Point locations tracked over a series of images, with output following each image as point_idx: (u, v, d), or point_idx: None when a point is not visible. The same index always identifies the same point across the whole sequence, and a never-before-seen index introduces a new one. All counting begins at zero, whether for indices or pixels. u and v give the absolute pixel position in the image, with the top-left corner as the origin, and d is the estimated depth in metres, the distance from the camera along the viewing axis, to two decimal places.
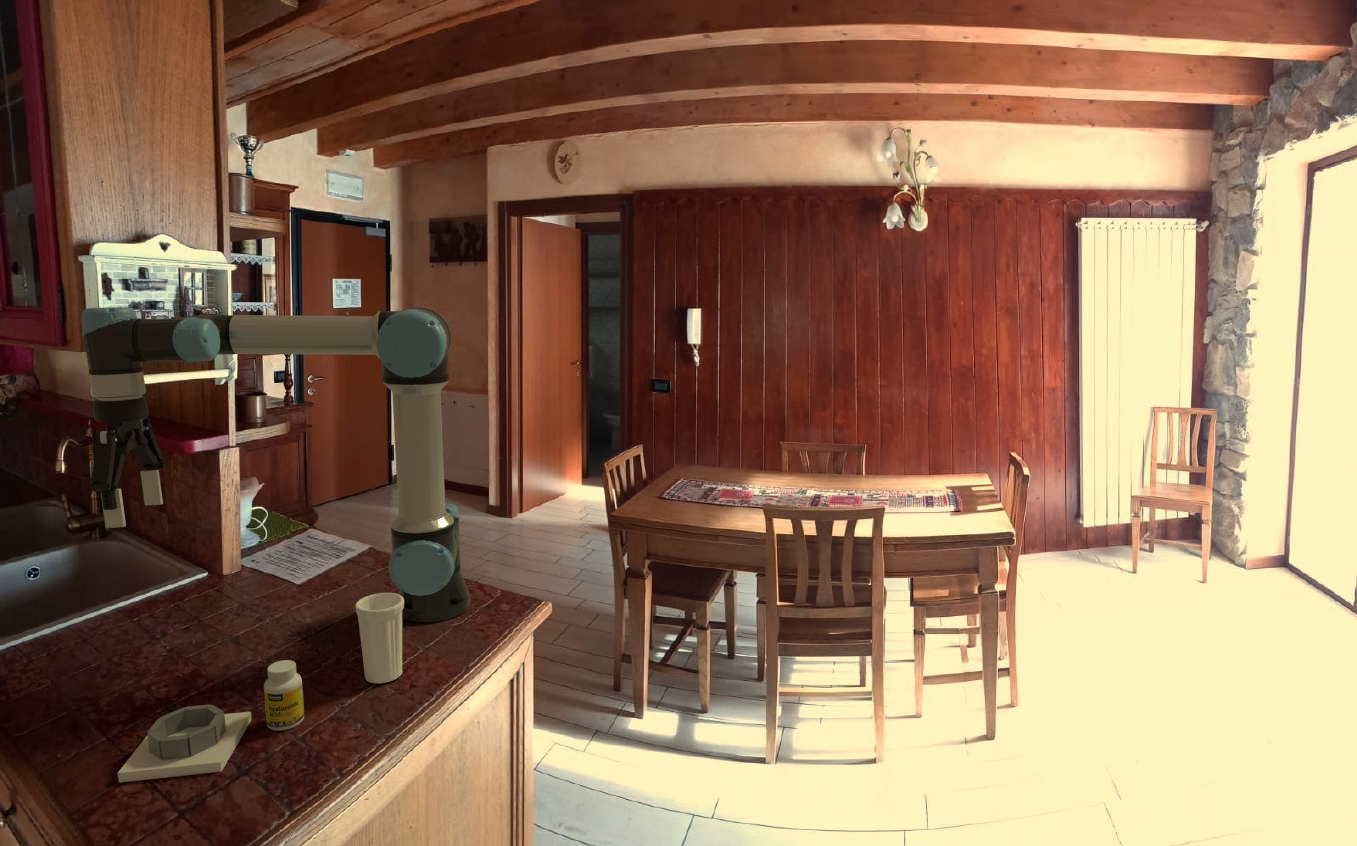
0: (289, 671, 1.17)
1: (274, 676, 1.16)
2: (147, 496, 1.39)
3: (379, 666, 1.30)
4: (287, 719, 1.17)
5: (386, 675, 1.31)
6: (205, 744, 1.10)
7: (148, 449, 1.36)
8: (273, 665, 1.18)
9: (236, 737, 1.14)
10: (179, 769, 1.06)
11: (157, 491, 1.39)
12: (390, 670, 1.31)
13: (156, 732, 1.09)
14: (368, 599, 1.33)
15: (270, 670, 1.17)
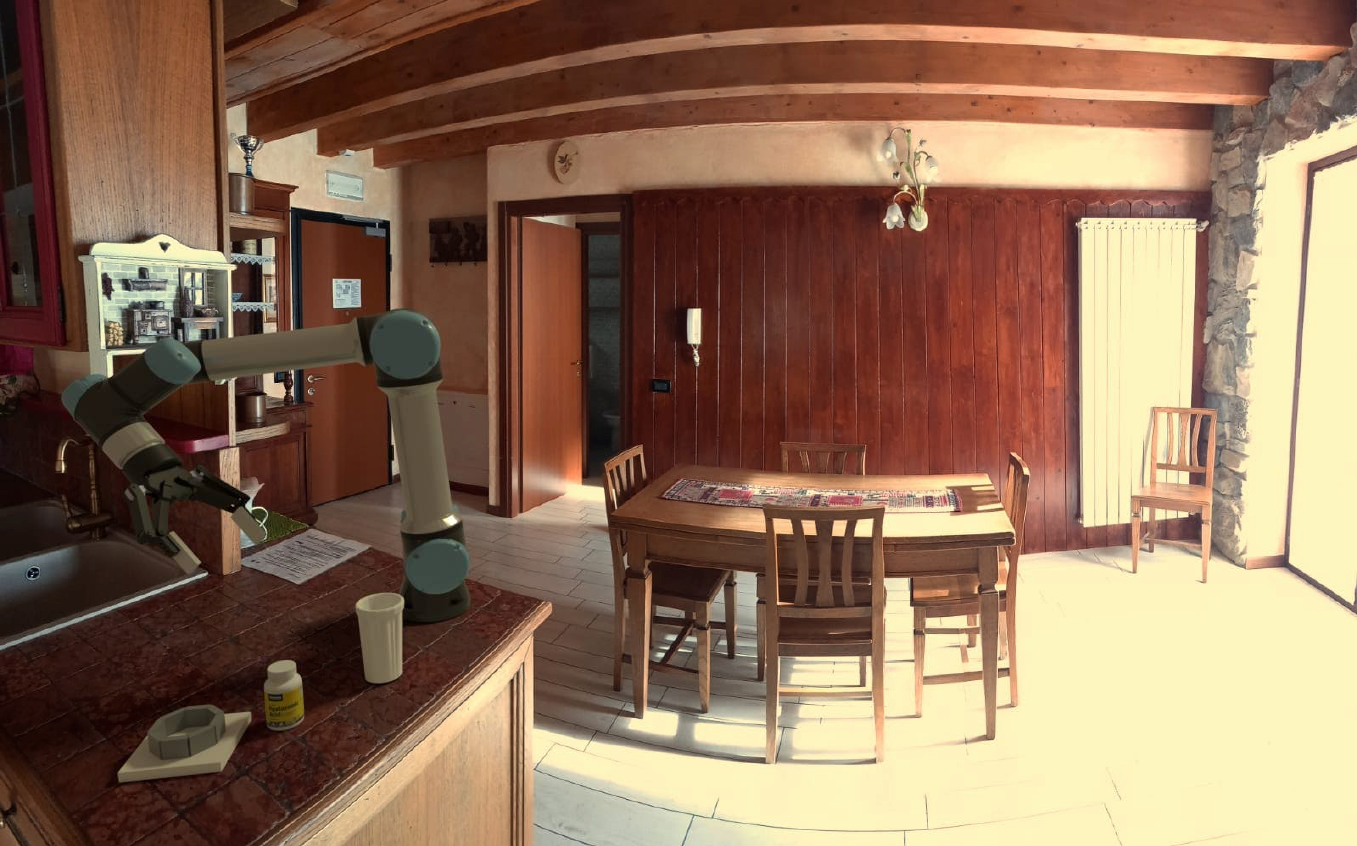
0: (289, 671, 1.17)
1: (274, 676, 1.16)
2: (250, 535, 1.28)
3: (379, 666, 1.30)
4: (287, 719, 1.17)
5: (386, 675, 1.31)
6: (205, 744, 1.10)
7: (214, 491, 1.26)
8: (273, 665, 1.18)
9: (236, 737, 1.14)
10: (179, 769, 1.06)
11: (253, 525, 1.28)
12: (390, 670, 1.31)
13: (156, 732, 1.09)
14: (368, 599, 1.33)
15: (270, 670, 1.17)
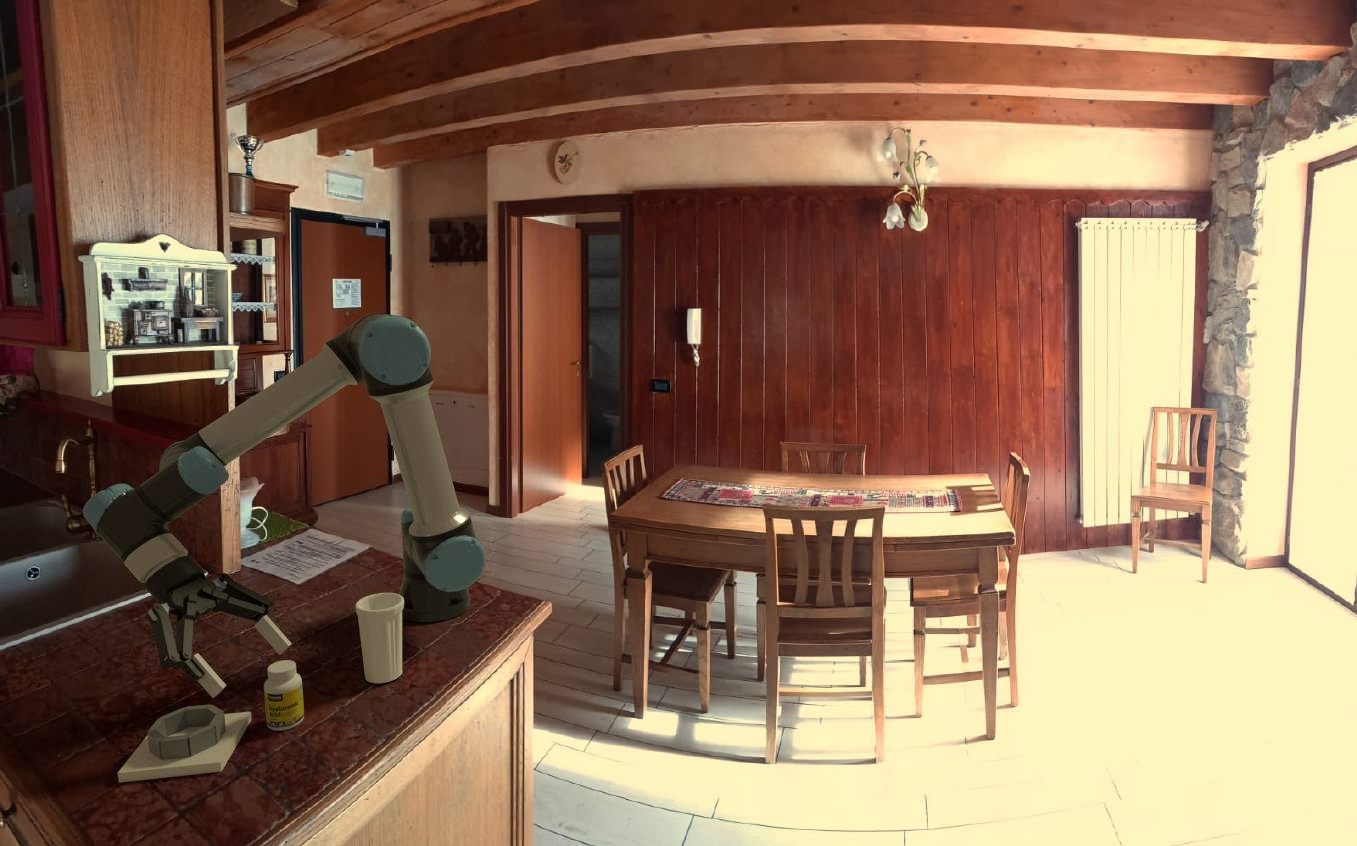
0: (289, 671, 1.17)
1: (274, 676, 1.16)
2: (275, 645, 1.25)
3: (379, 666, 1.30)
4: (287, 719, 1.17)
5: (386, 675, 1.31)
6: (205, 744, 1.10)
7: (237, 600, 1.23)
8: (273, 665, 1.18)
9: (236, 737, 1.14)
10: (179, 769, 1.06)
11: (277, 635, 1.24)
12: (390, 670, 1.31)
13: (156, 732, 1.09)
14: (368, 599, 1.33)
15: (270, 670, 1.17)
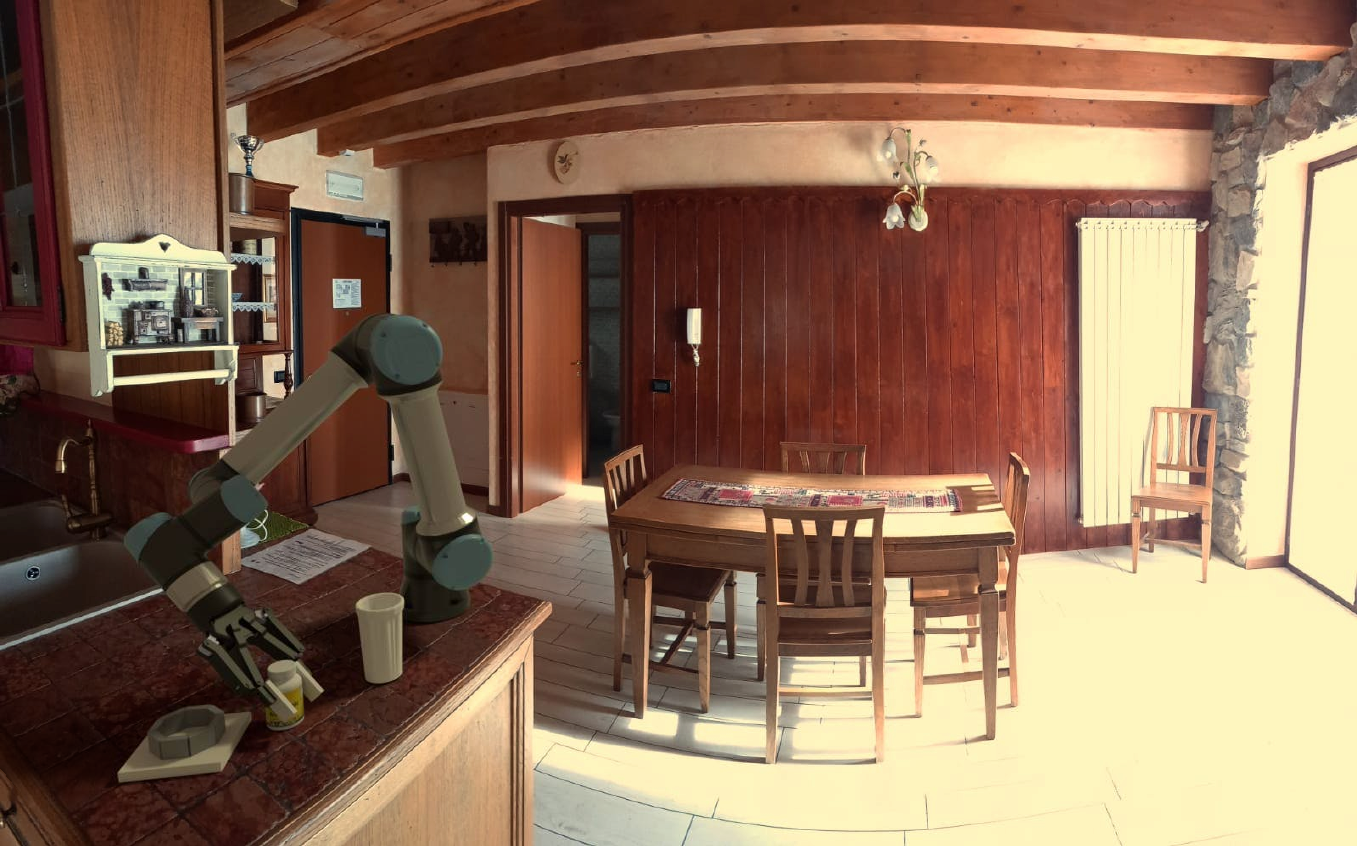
0: (289, 671, 1.17)
1: (274, 676, 1.16)
2: (306, 692, 1.21)
3: (379, 666, 1.30)
4: None
5: (386, 675, 1.31)
6: (205, 744, 1.10)
7: (273, 638, 1.21)
8: (273, 665, 1.18)
9: (236, 737, 1.14)
10: (179, 769, 1.06)
11: (309, 682, 1.21)
12: (390, 670, 1.31)
13: (156, 732, 1.09)
14: (368, 599, 1.33)
15: (270, 670, 1.17)
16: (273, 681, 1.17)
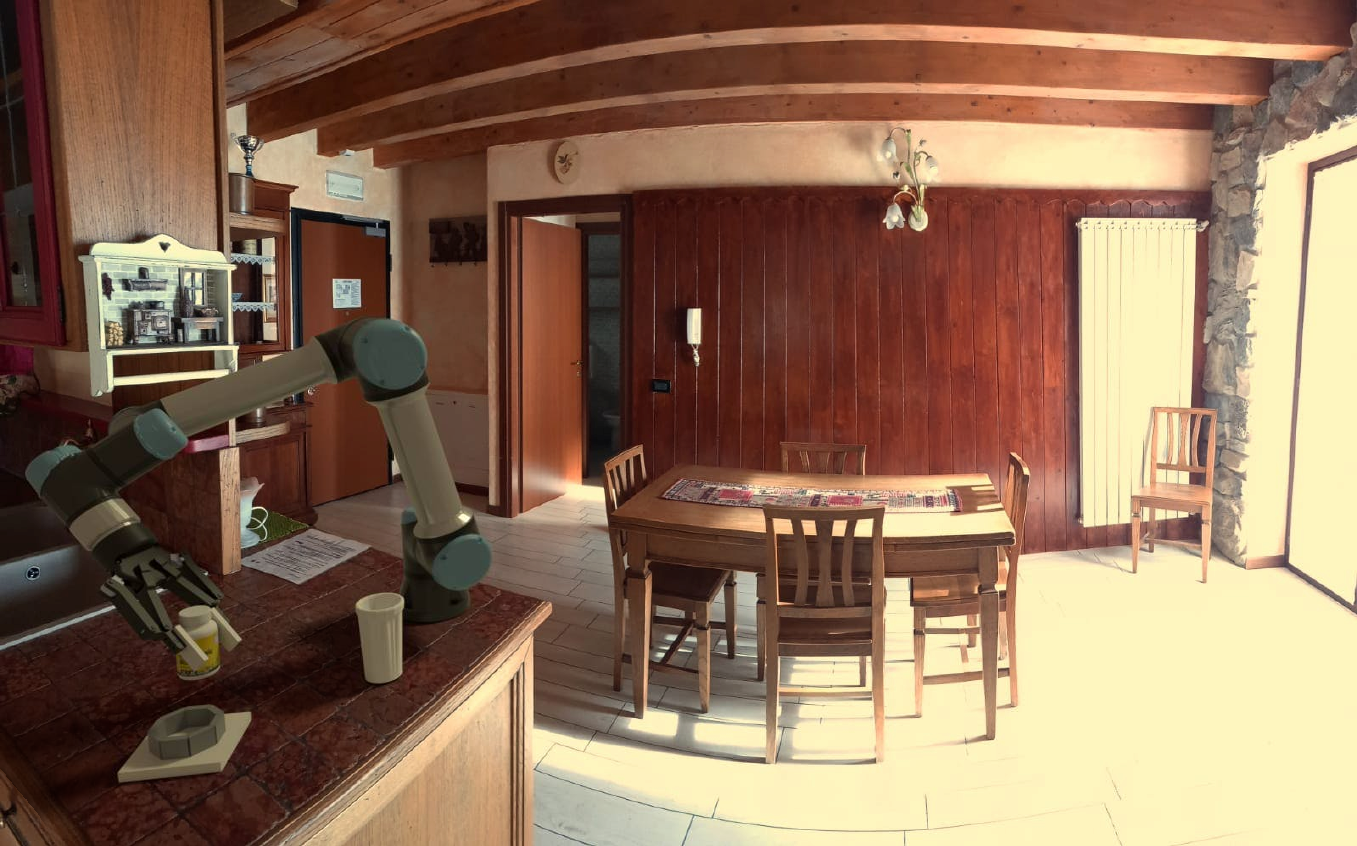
0: (201, 616, 1.09)
1: (185, 620, 1.08)
2: (223, 641, 1.13)
3: (379, 666, 1.30)
4: (199, 668, 1.09)
5: (386, 675, 1.31)
6: (205, 744, 1.10)
7: (188, 583, 1.13)
8: (185, 610, 1.10)
9: (236, 737, 1.14)
10: (179, 769, 1.06)
11: (225, 630, 1.12)
12: (390, 670, 1.31)
13: (156, 732, 1.09)
14: (368, 599, 1.33)
15: (181, 614, 1.08)
16: (184, 626, 1.08)
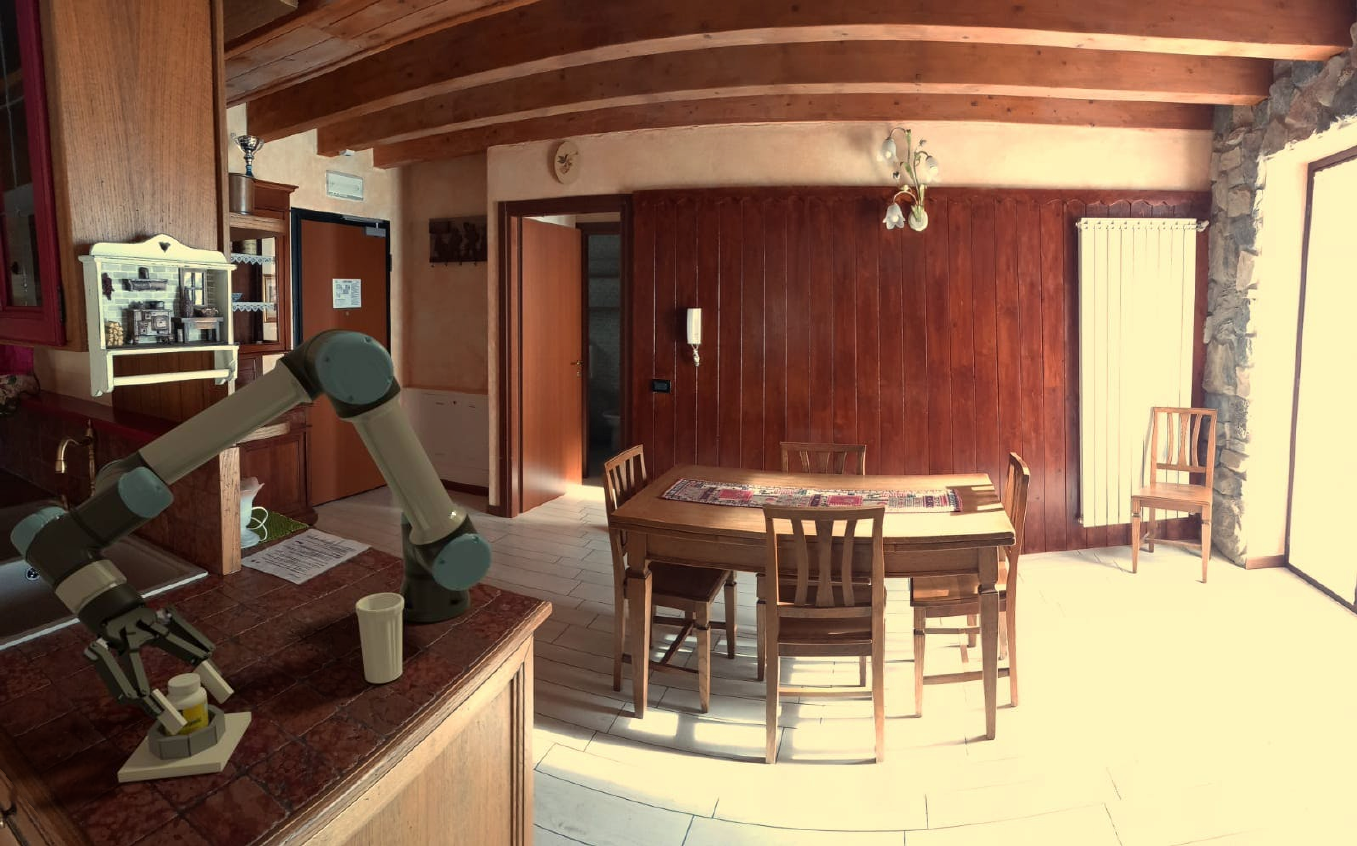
0: (190, 685, 1.10)
1: (174, 690, 1.09)
2: (215, 693, 1.14)
3: (379, 666, 1.30)
4: None
5: (386, 675, 1.31)
6: (205, 744, 1.10)
7: (177, 638, 1.14)
8: (175, 678, 1.11)
9: (236, 737, 1.14)
10: (179, 769, 1.06)
11: (217, 682, 1.14)
12: (390, 670, 1.31)
13: (156, 732, 1.09)
14: (368, 599, 1.33)
15: (171, 684, 1.09)
16: (173, 696, 1.09)
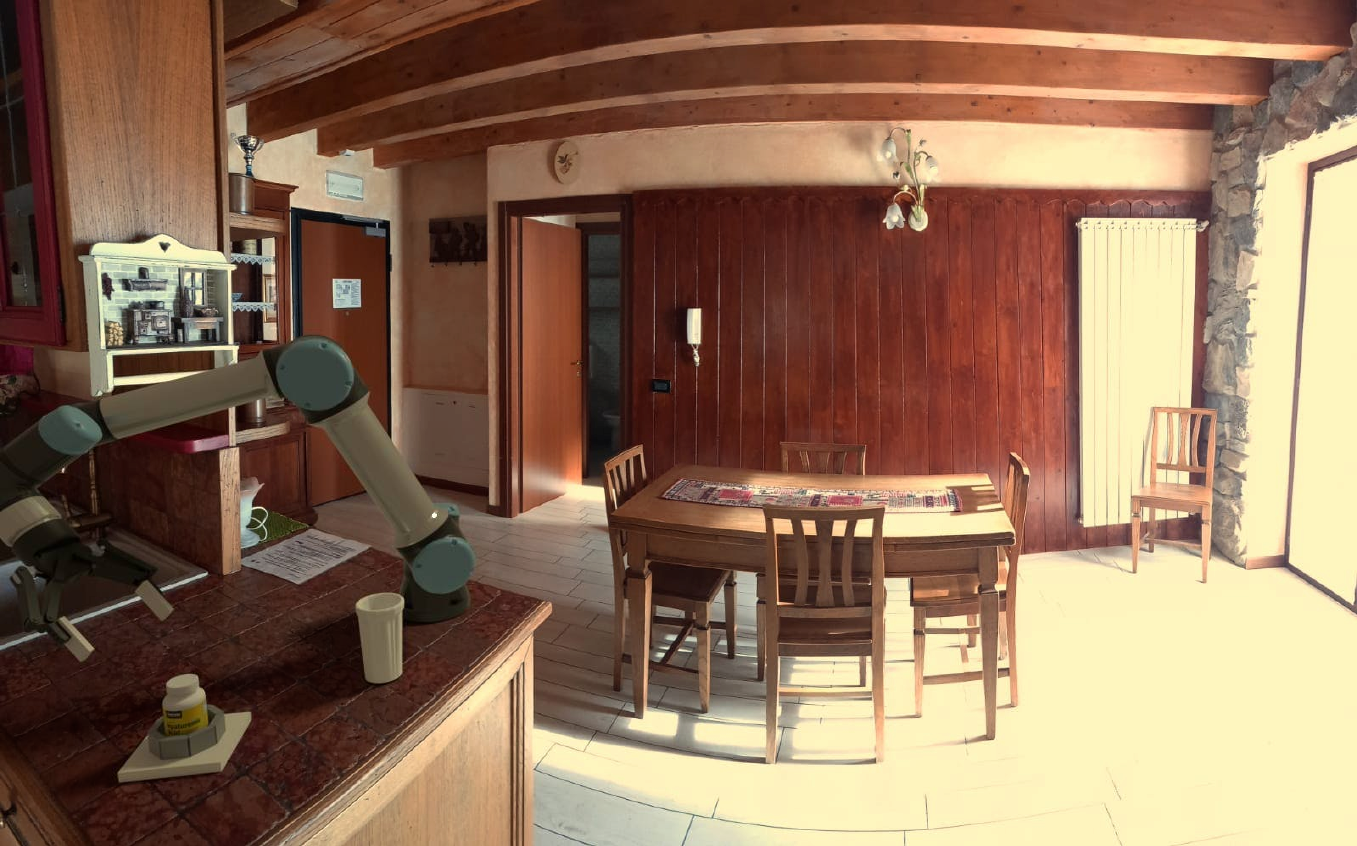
0: (189, 686, 1.09)
1: (172, 691, 1.08)
2: (156, 610, 1.22)
3: (379, 666, 1.30)
4: None
5: (386, 675, 1.31)
6: (205, 744, 1.10)
7: (115, 565, 1.20)
8: (173, 679, 1.10)
9: (236, 737, 1.14)
10: (179, 769, 1.06)
11: (158, 600, 1.21)
12: (390, 670, 1.31)
13: (156, 732, 1.09)
14: (368, 599, 1.33)
15: (169, 685, 1.09)
16: (172, 697, 1.09)
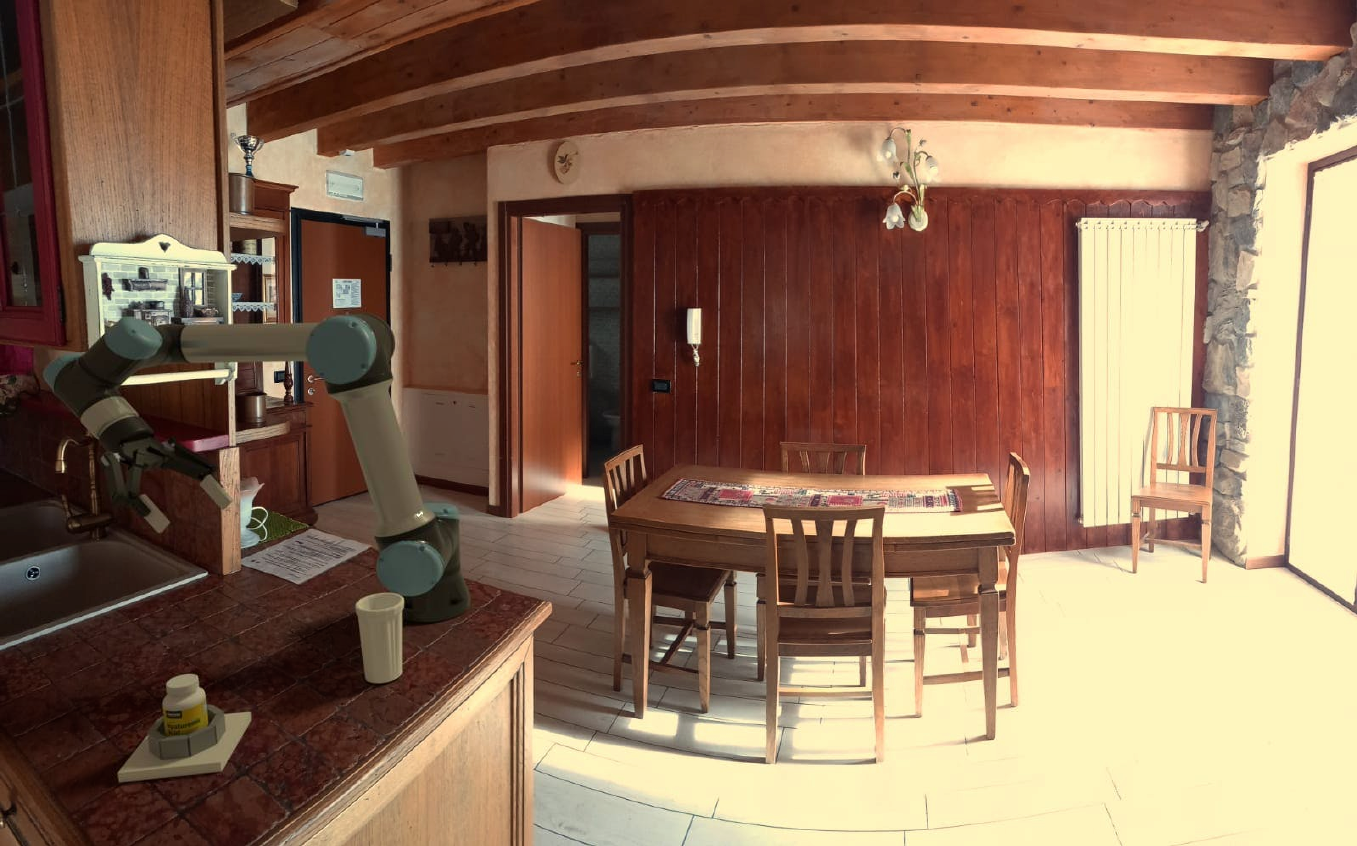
0: (189, 686, 1.09)
1: (172, 691, 1.09)
2: (218, 501, 1.40)
3: (379, 666, 1.30)
4: None
5: (386, 675, 1.31)
6: (205, 744, 1.10)
7: (184, 460, 1.38)
8: (173, 679, 1.10)
9: (236, 737, 1.14)
10: (179, 769, 1.06)
11: (220, 492, 1.39)
12: (390, 670, 1.31)
13: (156, 732, 1.09)
14: (368, 599, 1.33)
15: (169, 685, 1.09)
16: (172, 697, 1.09)
